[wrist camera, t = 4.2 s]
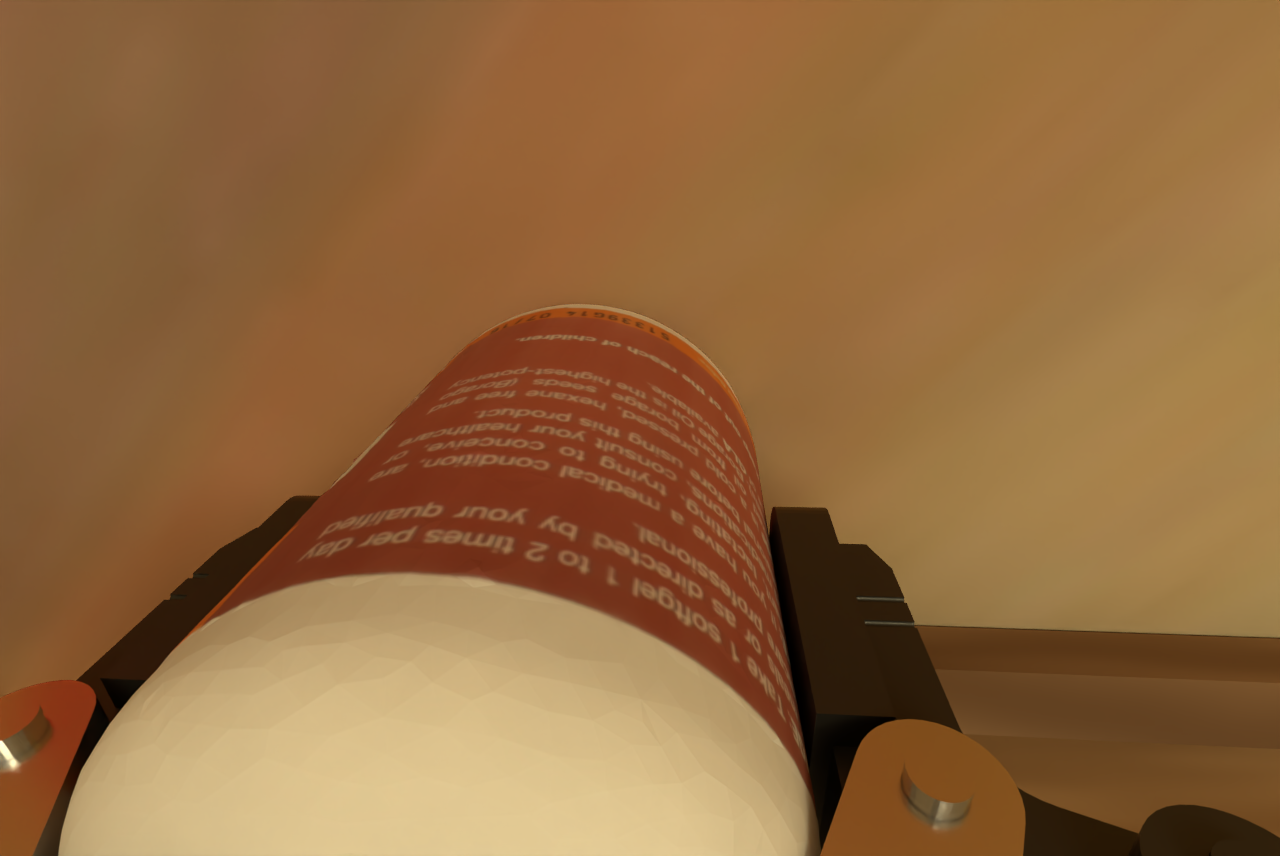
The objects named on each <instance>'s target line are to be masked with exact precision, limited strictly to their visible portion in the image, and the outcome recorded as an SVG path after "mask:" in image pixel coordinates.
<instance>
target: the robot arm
mask: <svg viewBox="0 0 1280 856" xmlns="http://www.w3.org/2000/svg"><path fill="white" fill-rule="evenodd" d="M320 497H321V496H294V497H292V498H290V499H288V500H287V501H286V502H285V503H284V504H283V505H282V506H281V507H280V508H279V509H278V510H277V511H276V512H274V513H273V514H272V515H271V516H270V517H269V518H268V519H267V520H266V521H265V522H264V523H263V524H262V525H261V526H260V527H259V528H255V529H254V530H252V531H250V532H248V533H247V534H245V535H243V536H241V537H240V538H238V539H236V540H234V541H233V542H231V543H229V544H227V545H226V546H224V547H222V548H220V549H219V550H218V551H217V552H216V553H215V554H214V555H213V556H212V557H211V558H209V559H208V560H207V561H206V562H205V563H204V564H203V565H202V566H201V567H200V568H199V569H197V570H196V571H195V572H194V573H193V578H188V579H187V580H185V581H184V582H183V583H182V584H181V585H180V586H179V587H178V588H177V589H176V590H175V591H173V592H172V593H171V594H170V595H171V597H170V599H169V600H164V601H163V602H161V603H160V604H159V605H158V606H157V607H156V608H155V609H154V610H153V611H152V612H151V613H149V614H148V615H147V616H146V617H145V618H144V619H143V620H142V621H141V622H140V623H139V624H137V625H136V626H135V627H134V628H133V629H132V630H131V631H130V632H129V633H128V634H127V635H125V636H124V637H123V638H122V639H121V640H120V641H119V642H118V643H117V644H116V645H115V646H113V647H112V648H111V649H110V650H109V651H108V652H107V653H106V654H105V655H104V656H103V657H101V658H100V659H99V660H98V661H97V662H96V663H95V664H94V665H93V666H92V667H91V668H89V669H88V670H87V671H86V672H85V673H84V674H83V675H82V676H81V677H80V678H79V679H77V680H76V681H74V680H59V681H50V682H45V683H40V684H36V685H33V686H29V687H26V688H23V689H20V690H18V691H15V692H12V693H10V694H7V695H5V696H3V697H1V698H0V856H58V853H59V845H60V838H61V832H62V828H63V824H64V821H65V817H66V814H67V810H68V807H69V803H70V799H71V797H72V794H73V791H74V788H75V786H76V783H77V780H78V778H79V775H80V772H81V770H82V768H83V766H84V765H85V763H86V761H87V760H88V758H89V756H90V755H91V753H92V751H93V750H94V748H95V746H96V745H97V743H98V742H99V740H100V739H101V737H102V735H103V734H104V732H105V731H106V729H107V727H108V726H109V724H110V723H111V722H112V720H113V719H114V718H115V717H116V715H117V714H118V713H119V712H120V710H121V709H122V708H123V707H124V705H125V704H126V703H127V702H128V700H129V699H130V698H131V696H132V695H133V694H134V693H135V692H136V691H137V690H138V689H139V688H140V687H141V686H142V685H143V684H144V683H145V682H146V681H147V680H148V678H149V677H150V676H151V675H152V674H153V673H154V672H155V671H156V670H157V669H158V668H159V667H160V665H161V664H162V663H163V662H164V660H165V659H166V658H167V657H168V655H169V654H170V653H171V652H172V651H173V650H174V649H175V647H176V646H177V645H178V644H179V643H180V642H181V641H182V640H183V639H184V638H185V637H186V636H187V635H188V634H189V633H190V632H191V631H192V630H193V629H194V628H195V627H196V626H197V625H198V624H199V622H200V621H201V620H202V619H203V618H204V617H205V616H206V615H207V614H208V613H209V612H210V611H211V610H212V609H213V608H214V607H215V606H216V605H217V604H218V603H219V602H220V601H221V600H222V599H223V598H224V597H225V596H226V595H227V594H228V593H229V592H230V591H231V590H232V589H233V588H234V587H235V586H236V585H237V584H238V583H239V582H240V580H241V579H242V578H243V577H244V576H245V575H246V574H247V573H248V572H249V571H250V570H251V569H252V568H253V567H254V566H255V565H256V564H257V563H258V562H259V561H260V560H261V559H262V558H263V557H264V556H265V555H266V553H267V552H268V551H269V550H270V549H271V548H272V547H273V546H274V545H275V544H276V543H277V542H279V541H280V540H281V539H282V538H283V537H284V536H285V535H286V534H287V532H288V531H289V530H290V529H291V528H292V527H293V526H294V525H295V524H296V523H297V521H298V520H299V519H300V518H301V517H302V516H303V515H304V514H305V513H306V512H307V511H308V510H309V509H310V508H311V507H312V505H313V504H314V503H315V502H316V501H317V500H318V499H319V498H320ZM769 541H770V547H771V553H772V559H773V565H774V571H775V577H776V582H777V588H778V594H779V600H780V606H781V612H782V618H783V624H784V630H785V636H786V641H787V647H788V653H789V659H790V665H791V671H792V678H793V684H794V689H795V694H796V700H797V705H798V710H799V716H800V721H801V726H802V732H803V737H804V743H805V749H806V755H807V761H808V767H809V774H810V779H811V784H812V789H813V794H814V799H815V807H816V814H817V820H818V824H819V837H820V847H821V854H820V856H1280V838H1279V837H1278V836H1276V835H1274V834H1273V833H1271V832H1269V831H1268V830H1266V829H1264V828H1262V827H1260V826H1258V825H1256V824H1254V823H1252V822H1250V821H1248V820H1246V819H1243V818H1240V817H1238V816H1235V815H1233V814H1230V813H1228V812H1224V811H1221V810H1217V809H1214V808H1210V807H1204V806H1198V805H1180V804H1179V805H1173V806H1167V807H1164V808H1162V809H1159V810H1157V811H1155V812H1154V813H1153V814H1151V815H1150V816H1149V817H1148V818H1147V819H1146V821H1145V823H1144V824H1143V826H1142V828H1141V830H1140V832H1139V833H1136V832H1133V831H1130V830H1127V829H1124V828H1121V827H1118V826H1115V825H1112V824H1109V823H1106V822H1103V821H1100V820H1097V819H1094V818H1091V817H1088V816H1085V815H1082V814H1078V813H1075V812H1072V811H1069V810H1066V809H1063V808H1060V807H1058V806H1055V805H1052V804H1050V803H1047V802H1045V801H1042V800H1040V799H1038V798H1036V797H1034V796H1032V795H1030V794H1028V793H1026V792H1024V791H1023V790H1021V789H1019V788H1018V787H1017V786H1016V784H1015V782H1014V781H1013V779H1012V778H1011V776H1010V774H1009V773H1008V772H1007V770H1006V769H1005V768H1004V767H1003V766H1002V764H1001V763H1000V762H999V761H998V760H997V759H996V758H995V757H994V756H993V755H992V754H991V753H990V752H989V751H988V750H986V749H985V748H984V747H982V746H981V745H980V744H978V743H977V742H976V741H974V740H972V739H971V738H969V737H967V736H966V735H964V734H963V733H962V731H961V729H960V727H959V725H958V722H957V720H956V718H955V715H954V713H953V711H952V708H951V706H950V704H949V701H948V699H947V697H946V694H945V692H944V690H943V687H942V685H941V683H940V680H939V678H938V676H937V673H936V671H935V669H934V666H933V664H932V662H931V659H930V657H929V655H928V652H927V650H926V648H925V645H924V643H923V641H922V638H921V636H920V634H919V631H918V629H917V628H915V626H914V620H913V617H912V615H911V613H910V610H909V608H908V606H907V603H904V596H903V594H902V592H901V589H900V587H899V585H898V582H897V580H896V578H895V575H894V573H893V570H892V569H891V568H890V567H889V566H888V565H887V564H886V563H885V562H884V561H883V560H882V559H881V558H880V557H879V556H878V555H877V554H875V553H874V552H873V551H872V550H871V549H870V548H869V547H868V546H867V545H863V544H839V543H838V540H837V537H836V534H835V531H834V527H833V524H832V521H831V518H830V515H829V513H828V510H827V509H826V508H807V507H773V509H772V513H771V521H770V534H769Z"/></svg>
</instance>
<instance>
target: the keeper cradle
mask: <svg viewBox="0 0 1280 856" xmlns="http://www.w3.org/2000/svg"><path fill="white" fill-rule="evenodd" d="M915 628H917V629H918V631H919V634H920V636H921V638H922V641H923V643H924V645H925V648H926V650H927V652H928V655H929V657H930V659H931V662H932V664H933V666H934V669H935V671H936V673H937V676H938V678H939V680H940V683H941V685H942V687H943V690H944V692H945V694H946V697H947V699H948V701H949V704H950V706H951V708H952V711H953V713H954V715H955V718H956V720H957V722H958V725H959V727H960V729H961V731H962V733H963V734H964V735H966V736H967V737H969V738H971V739H972V740H974V741H976V742H977V743H978V744H980V745H981V746H982V747H984V748H985V749H986V750H988V751H989V752H990V753H991V754H992V755H993V756H994V757H995V758H996V759H997V760H998V761H999V762H1000V763H1001V764H1002V766H1003V767H1004V768H1005V769H1006V770H1007V772H1008V773H1009V774H1010V776H1011V778H1012V779H1013V781H1014V782H1015V784H1016V786H1017V787H1018V788H1019V789H1021V790H1023V791H1024V792H1026V793H1028V794H1030V795H1032V796H1034V797H1036V798H1038V799H1040V800H1042V801H1045V802H1047V803H1050V804H1052V805H1055V806H1058V807H1060V808H1063V809H1066V810H1069V811H1072V812H1075V813H1078V814H1082V815H1085V816H1088V817H1091V818H1094V819H1097V820H1100V821H1103V822H1106V823H1109V824H1112V825H1115V826H1118V827H1121V828H1124V829H1127V830H1130V831H1133V832H1136V833H1139V832H1140V830H1141V828H1142V826H1143V824H1144V823H1145V821H1146V819H1147V818H1148V817H1149V816H1150V815H1151V814H1153V813H1154V812H1155V811H1157V810H1159V809H1162V808H1164V807H1167V806H1173V805H1179V804H1180V805H1198V806H1204V807H1210V808H1214V809H1217V810H1221V811H1224V812H1228V813H1230V814H1233V815H1235V816H1238V817H1240V818H1243V819H1246V820H1248V821H1250V822H1252V823H1254V824H1256V825H1258V826H1260V827H1262V828H1264V829H1266V830H1268V831H1269V832H1271V833H1273V834H1274V835H1276V836H1278V837H1279V838H1280V639H1277V638H1248V637H1220V636H1192V635H1163V634H1135V633H1106V632H1078V631H1049V630H1021V629H993V628H964V627H936V626H915Z"/></svg>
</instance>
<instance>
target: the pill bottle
mask: <svg viewBox="0 0 1280 856" xmlns="http://www.w3.org/2000/svg"><path fill="white" fill-rule="evenodd" d="M820 854H821V847H820V837H819V824H818V820H817V814H816V807H815V799H814V794H813V789H812V784H811V779H810V774H809V767H808V761H807V755H806V749H805V743H804V737H803V732H802V726H801V721H800V716H799V710H798V705H797V700H796V694H795V689H794V684H793V678H792V671H791V665H790V659H789V653H788V647H787V641H786V636H785V630H784V624H783V618H782V612H781V606H780V600H779V594H778V588H777V582H776V577H775V571H774V565H773V559H772V553H771V547H770V541H769V535H768V529H767V522H766V516H765V510H764V504H763V498H762V491H761V485H760V478H759V472H758V465H757V459H756V453H755V447H754V443H753V440H752V436H751V432H750V429H749V426H748V423H747V420H746V417H745V415H744V412H743V410H742V408H741V406H740V403H739V401H738V399H737V397H736V395H735V393H734V392H733V390H732V388H731V386H730V384H729V383H728V381H727V380H726V379H725V377H724V376H723V374H722V373H721V372H720V371H719V369H718V368H717V367H716V366H715V365H714V364H713V362H712V361H711V360H710V359H709V358H708V357H707V356H706V355H705V354H704V353H703V352H702V351H700V350H699V349H698V348H697V347H696V346H695V345H693V344H692V343H691V342H690V341H688V340H687V339H686V338H684V337H683V336H681V335H680V334H678V333H677V332H675V331H673V330H672V329H670V328H668V327H667V326H665V325H663V324H661V323H659V322H657V321H655V320H653V319H650V318H648V317H646V316H643V315H640V314H637V313H634V312H631V311H627V310H624V309H619V308H614V307H609V306H602V305H592V304H567V305H557V306H551V307H545V308H540V309H536V310H532V311H529V312H525V313H522V314H519V315H517V316H514V317H512V318H509V319H507V320H505V321H503V322H501V323H499V324H497V325H495V326H494V327H492V328H490V329H488V330H487V331H485V332H484V333H482V334H481V335H480V336H478V337H477V338H476V339H474V340H473V341H472V342H471V343H469V344H468V345H467V346H466V347H465V348H463V349H462V350H461V351H460V352H459V353H458V354H457V355H456V356H454V358H453V359H452V360H451V361H450V362H449V363H448V364H447V365H446V366H445V367H444V368H443V369H442V370H441V371H440V372H439V374H438V375H437V376H436V377H435V378H434V379H433V380H432V381H431V382H430V383H429V384H428V385H427V386H426V387H425V388H424V390H423V391H422V392H421V393H420V394H419V395H418V396H417V397H416V398H415V399H414V400H413V401H412V402H411V403H410V404H409V405H408V406H407V407H406V408H405V410H404V411H403V412H402V413H401V414H400V415H399V416H398V417H397V418H396V419H395V420H394V421H393V422H392V423H391V424H390V425H389V427H388V428H387V429H386V430H385V431H384V432H383V433H382V434H381V435H380V436H379V437H378V438H377V439H376V440H375V441H374V442H373V443H372V444H371V445H370V446H369V447H368V448H367V449H366V450H365V451H364V452H363V453H362V454H360V455H359V456H358V457H357V458H356V459H354V461H353V464H352V465H351V466H350V468H349V469H348V470H347V471H346V472H345V473H344V474H343V475H342V476H340V477H339V478H338V479H337V480H336V481H335V482H334V483H333V485H332V487H331V488H330V489H329V490H328V491H326V492H325V493H324V494H323V495H322V496H321V497H320V498H319V499H318V500H317V501H316V502H315V503H314V504H313V505H312V507H311V508H310V509H309V510H308V511H307V512H306V513H305V514H304V515H303V516H302V517H301V518H300V519H299V520H298V521H297V523H296V524H295V525H294V526H293V527H292V528H291V529H290V530H289V531H288V532H287V534H286V535H285V536H284V537H283V538H282V539H281V540H280V541H279V542H277V543H276V544H275V545H274V546H273V547H272V548H271V549H270V550H269V551H268V552H267V553H266V555H265V556H264V557H263V558H262V559H261V560H260V561H259V562H258V563H257V564H256V565H255V566H254V567H253V568H252V569H251V570H250V571H249V572H248V573H247V574H246V575H245V576H244V577H243V578H242V579H241V580H240V582H239V583H238V584H237V585H236V586H235V587H234V588H233V589H232V590H231V591H230V592H229V593H228V594H227V595H226V596H225V597H224V598H223V599H222V600H221V601H220V602H219V603H218V604H217V605H216V606H215V607H214V608H213V609H212V610H211V611H210V612H209V613H208V614H207V615H206V616H205V617H204V618H203V619H202V620H201V621H200V622H199V624H198V625H197V626H196V627H195V628H194V629H193V630H192V631H191V632H190V633H189V634H188V635H187V636H186V637H185V638H184V639H183V640H182V641H181V642H180V643H179V644H178V645H177V646H176V647H175V649H174V650H173V651H172V652H171V653H170V654H169V655H168V657H167V658H166V659H165V660H164V662H163V663H162V664H161V665H160V667H159V668H158V669H157V670H156V671H155V672H154V673H153V674H152V675H151V676H150V677H149V678H148V680H147V681H146V682H145V683H144V684H143V685H142V686H141V687H140V688H139V689H138V690H137V691H136V692H135V693H134V694H133V695H132V696H131V698H130V699H129V700H128V702H127V703H126V704H125V705H124V707H123V708H122V709H121V710H120V712H119V713H118V714H117V715H116V717H115V718H114V719H113V720H112V722H111V723H110V724H109V726H108V727H107V729H106V731H105V732H104V734H103V735H102V737H101V739H100V740H99V742H98V743H97V745H96V746H95V748H94V750H93V751H92V753H91V755H90V756H89V758H88V760H87V761H86V763H85V765H84V766H83V768H82V770H81V772H80V775H79V778H78V780H77V783H76V786H75V788H74V791H73V794H72V797H71V799H70V803H69V807H68V810H67V814H66V817H65V821H64V824H63V828H62V832H61V838H60V845H59V853H58V856H820Z"/></svg>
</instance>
